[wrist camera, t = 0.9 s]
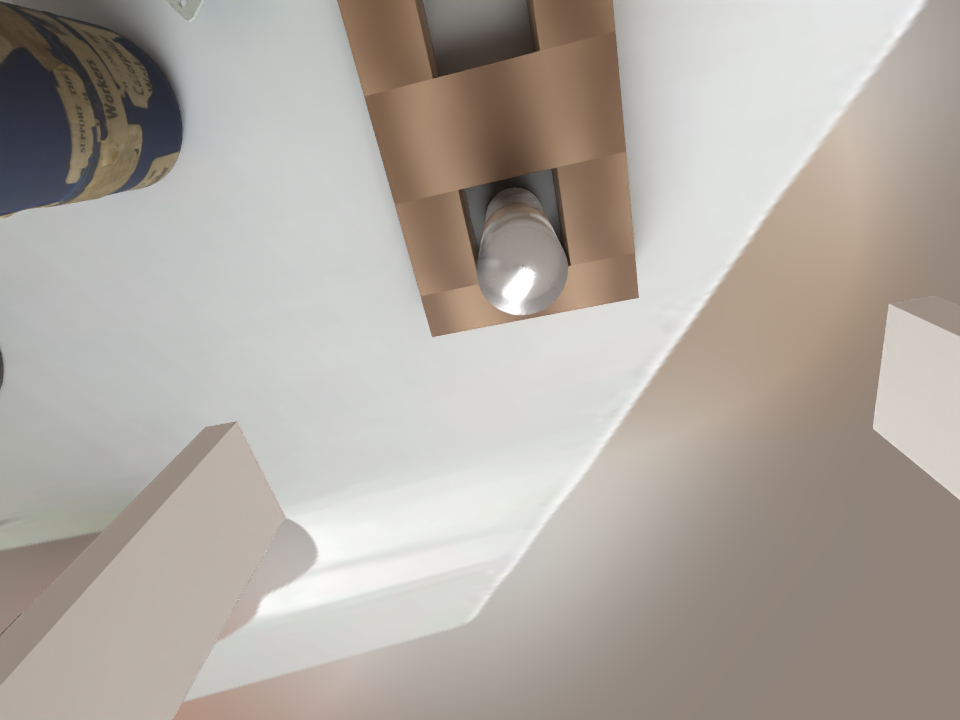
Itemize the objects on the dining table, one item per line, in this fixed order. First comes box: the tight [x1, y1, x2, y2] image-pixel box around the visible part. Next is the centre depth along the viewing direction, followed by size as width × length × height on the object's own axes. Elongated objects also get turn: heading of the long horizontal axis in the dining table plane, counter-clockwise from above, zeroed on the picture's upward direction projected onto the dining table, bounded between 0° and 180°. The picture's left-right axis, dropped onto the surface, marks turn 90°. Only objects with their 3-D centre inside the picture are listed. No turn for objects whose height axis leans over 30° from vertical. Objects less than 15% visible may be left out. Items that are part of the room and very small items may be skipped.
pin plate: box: [337, 0, 639, 337], centre depth 30 cm, size 14×24×4 cm, turn 13°
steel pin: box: [477, 188, 568, 315], centre depth 28 cm, size 4×4×14 cm
